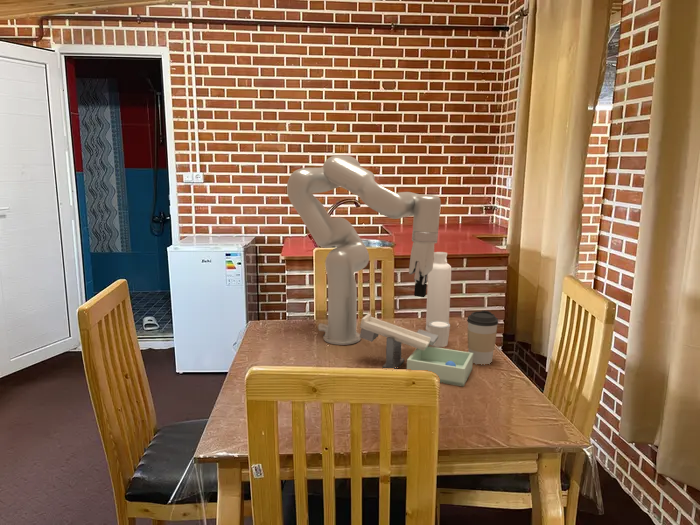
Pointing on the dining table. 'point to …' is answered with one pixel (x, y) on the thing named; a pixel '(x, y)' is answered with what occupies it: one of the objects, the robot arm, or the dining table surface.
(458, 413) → the dining table surface
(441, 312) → the bottle
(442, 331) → the shot glass
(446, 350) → the bin
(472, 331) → the coffee cup
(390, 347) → the lever stand
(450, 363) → the ball
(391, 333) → the lever
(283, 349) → the dining table surface
